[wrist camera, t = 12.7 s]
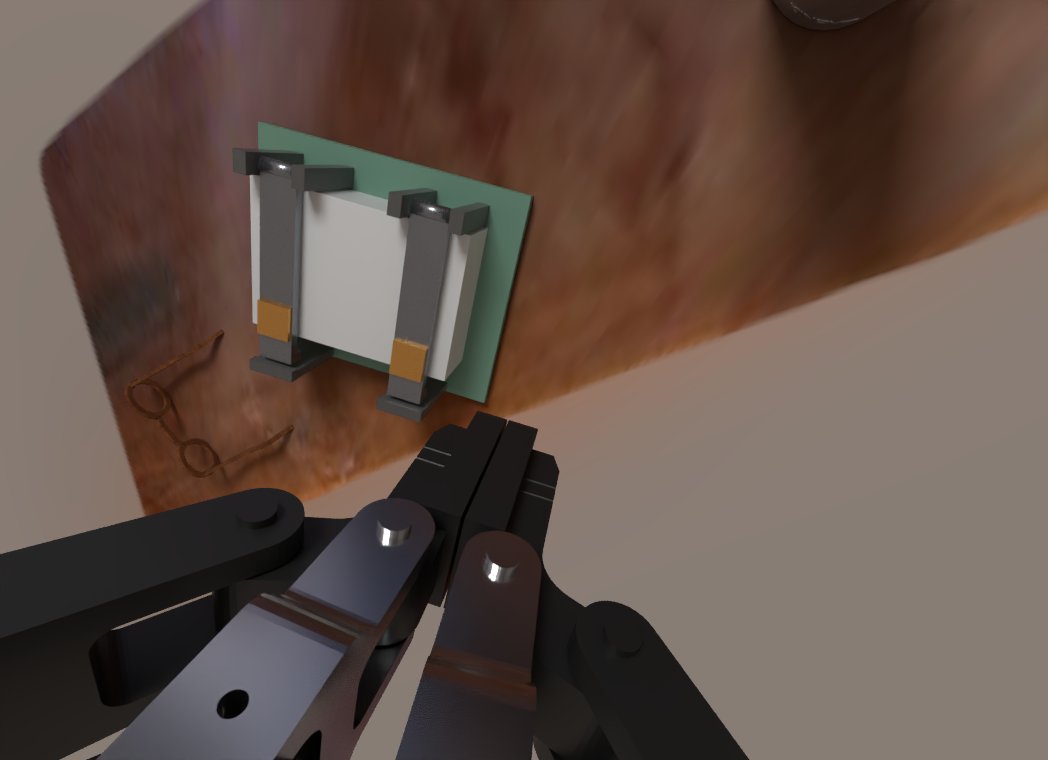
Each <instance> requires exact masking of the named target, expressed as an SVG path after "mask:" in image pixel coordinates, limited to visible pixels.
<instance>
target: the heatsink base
mask: <svg viewBox="0 0 1048 760" xmlns="http://www.w3.org/2000/svg"><path fill="white" fill-rule="evenodd" d="M258 144H259V149H242V148H233V172H236V173H240V174H243V175H250V199H251V250H252V302H253V323H256V324H257V300H258V299H260V171H259V168H258V161H259V158H260V157H262V156H265V157H269V158H272V159H276V160H280V161H283V162H287V163H290V164H294V165H292V168H291V188H293V189H296V190H300V191H303V199H302V226H301V252H300V279H299V306H298V333H297V349H298V350H301V351H302V359H300V360H299V361H297V362H295V363H293V364H292V365H289V364H286V363H283V362H280V361H276V360H273V359H270V358H267V357H263V356H259V357H257V356H255V357H253V358H251V359H250V370H253V371H257V372H260V373H263V374H266V375H269V376H273V377H276V378H279V379H282V380H285V381H289V382H293V381H294V380H296V379H297V378H299V377H301V376H302V375H304V374H305V373H307V372H308V371H310V370H311V369H313V368H314V367H316V366H317V365H319V364H320V363H322V362H324V361H325V360H327V359H328V358H330V357H331V356H333V357H336V358H339V359H343V360H346V361H349V362H352V363H356V364H359V365H362V366H365V367H369V368H372V369H375V370H378V371H382V372H385V373H388V374H390V373H389V369H390V361H391V353H392V346H393V340H394V336H395V328H396V320H397V312H398V305H399V297H400V289H401V281H402V274H403V266H404V258H405V251H406V243H407V235H408V227H409V220H410V205H411V202H412V200H413V199H414V198H416V199H419V200H423V201H427V202H430V203H434V204H437V205H441V206H445V207H448V208H452V209H451V212H450V218H449V224H448V230H447V232H448V233H451V236H450V242H449V248H448V254H447V260H446V266H445V272H444V278H443V283H442V289H441V295H440V301H439V307H438V313H437V319H436V325H435V331H434V337H433V343H432V349H431V355H430V361H429V367H428V373H427V379H426V385H425V388H426V389H427V395H426V398H425V399H424V400H423V401H422V402H421V403H420V405H419V404H416V403H413V402H409V401H406V400H403V399H400V398H397V397H393V396H390V395H387V392H386V393H385V394H384V395H382V396H380V397H379V398H378V400H377V409H378V410H381V411H384V412H387V413H391V414H394V415H397V416H400V417H403V418H407V419H410V420H413V421H416V422H419V423H420V422H421V421H422V419H423V418H424V417H425V416H426V414H427V413H428V412H429V410H430V409H431V408H432V407H433V405H434V404H435V403H436V402H437V400H438V399H439V398H440V397H441V395H442V394H443V393H444V392H445V391H447V392H450V393H453V394H456V395H460V396H463V397H466V398H469V399H473V400H476V401H479V402H482V403H484V402H485V401H486V399H487V395H488V391H489V387H490V382H491V378H492V374H493V369H494V365H495V361H496V356H497V352H498V348H499V343H500V339H501V335H502V330H503V326H504V322H505V317H506V313H507V309H508V304H509V300H510V296H511V291H512V287H513V283H514V278H515V274H516V270H517V265H518V261H519V256H520V252H521V248H522V243H523V239H524V235H525V230H526V226H527V222H528V217H529V213H530V209H531V204H532V200H533V196H532V195H528V194H525V193H521V192H517V191H514V190H510V189H506V188H503V187H499V186H496V185H492V184H488V183H485V182H481V181H477V180H474V179H470V178H466V177H463V176H459V175H455V174H452V173H448V172H444V171H441V170H437V169H433V168H430V167H426V166H422V165H419V164H415V163H411V162H408V161H404V160H400V159H397V158H393V157H389V156H386V155H382V154H379V153H375V152H371V151H368V150H364V149H360V148H357V147H353V146H349V145H346V144H342V143H338V142H335V141H331V140H327V139H324V138H320V137H316V136H313V135H309V134H305V133H302V132H298V131H294V130H291V129H287V128H283V127H280V126H276V125H272V124H269V123H264V122H258Z"/></svg>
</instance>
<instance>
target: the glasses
mask: <svg viewBox="0 0 1048 760" xmlns="http://www.w3.org/2000/svg"><path fill="white" fill-rule="evenodd" d="M223 333H224V332H223V331H222V330H220V331H219V332H217V333H216V334H214V335H213V336H211V337H210V338H208V339H207V340H205V341H204V342H202V343H201V344H199V345H198V346H196V347H195V348H193V349H191V350H189V351H187V352H186V353H184V354H182V355H180V356H178V357H176V358H174V359H172V360H170V361H169V362H167V363H165V364H164V365H162V366H160V367H158V368H157V369H155V370H153V371H152V372H150V373H148V374H146V375H145V376H143V377H141V378H140V379H137V380H134V381H132V382H131V383H129V384H128V385H127V386H126V388H125V397H126V400H127V402H128V403H129V405H130V406H131V407H132V408H133V409H134V410H135V411H136V412H137V413H139V414H140V415H142V416H144V417H147V418H150V419H156V422H157V424H158V426H159V428H160V429H161V430H162V431H163V433H164V434H165V435H166V436H167V437H168V438H169V440H170V441H171V442H172V443H174V444H176V445H178V448H177V457H178V460H179V463H180V464H181V466H182V467H183V469H184V470H185V471H186V472H188V473H189V474H190V475H192V476H195V477H199V478H202V477H206V476H208V475H210V474H212V473H213V472H214V471H216V470H218V469H220V468H222V467H224V466H226V465H228V464H230V463H231V462H233V461H235V460H237V459H239V458H241V457H243V456H245V455H247V454H249V453H252V452H254V451H257V450H260V449H262V448H264V447H267V446H269V445H271V444H272V443H273V442H275V441H276V440H278V439H279V438H280V437H282V436H283V435H285V434H286V433H287V432H289V431H290V430H292V429H293V428H294V427H293V425H291V426H288V427H287V428H285V429H284V430H282V431H281V432H279V433H278V434H277V435H275V436H274V437H272V438H271V439H270V440H268V441H267V442H264V443H262V444H260V445H258V446H255V447H253V448H250V449H248V450H246V451H244V452H242V453H240V454H238V455H236V456H235V457H233V458H231V459H229V460H227V461H225V462H223V463H221V464H219V465H218V458H217V455H216V453H215V452H214V451H213V449H212V448H211V447H210V446H209V445H208V443H207V442H205V441H204V440H201V439H197V438H195V439H191V440H188V441H186V442H184V443H183V442H182V441H180V440H179V439H178V438H177V437H176V436H175V435H174V434H173V432H172V431H171V430H170V429H169V428H168V426H167V425H166V424H165V423H164V421H163V419H162V415H164V414H165V413H166V412H167V411H168V410H169V409H170V408H171V400H170V397H169V396H168V394H167V393H166V392H165V391H164V389H163V388H162V387H161V386H160V385H159V384H158V383H157V382H155V381H153V380H150V379H148V378H150V377H151V376H153V375H155V374H156V373H158V372H160V371H162V370H163V369H165V368H167V367H168V366H170V365H172V364H174V363H175V362H177V361H179V360H181V359H182V358H184V357H186V356H188V355H190V354H192V353H194V352H195V351H197V350H199V349H200V348H202V347H203V346H205V345H206V344H208V343H209V342H211V341H212V340H214V339H215V338H217V337H218V336H220V335H221V334H223ZM139 384H146V385H150V386H152V387H153V388H155V389H156V390H157V391H158V392H159V393H160V394H161V396H162V398H163V400H164V407H163V409H162V410H161V411H159V412H156V413H153V412H149V411H146V410H145V409H143V408H142V407H140V406H139V405H138V404H137V402H136V401H135V399H134V397H133V389H134V387H135V386H136V385H139ZM191 444H198V445H200V446H202V447H203V448H205V449H206V450H207V452H208V453H209V455H210V457H211V460H212V464H211V467H210V468H209V469H208V470H207V471H205V472H199V471H196V470H195V469H193V468H192V467H191V466H190V465H189V464H188V463H187V461H186V459H185V456H184V451H185V448H186V447H187V446H188V445H191Z"/></svg>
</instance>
